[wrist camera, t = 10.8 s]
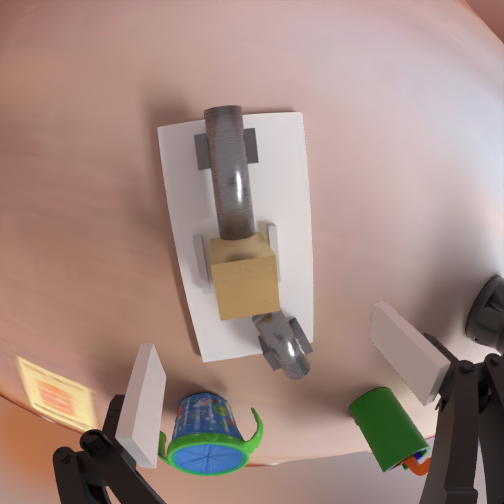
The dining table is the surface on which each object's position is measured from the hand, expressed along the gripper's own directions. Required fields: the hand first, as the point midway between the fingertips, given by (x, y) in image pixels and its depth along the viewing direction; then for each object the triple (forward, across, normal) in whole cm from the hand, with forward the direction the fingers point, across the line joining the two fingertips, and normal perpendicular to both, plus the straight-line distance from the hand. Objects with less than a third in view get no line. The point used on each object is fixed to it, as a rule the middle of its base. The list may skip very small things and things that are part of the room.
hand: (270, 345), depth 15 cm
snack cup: (+16, -8, -23) cm, 29 cm away
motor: (+16, +20, -34) cm, 43 cm away
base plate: (+15, +1, +1) cm, 15 cm away
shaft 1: (+15, 0, +9) cm, 18 cm away
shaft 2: (+15, +3, -9) cm, 18 cm away
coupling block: (+14, 0, 0) cm, 14 cm away
